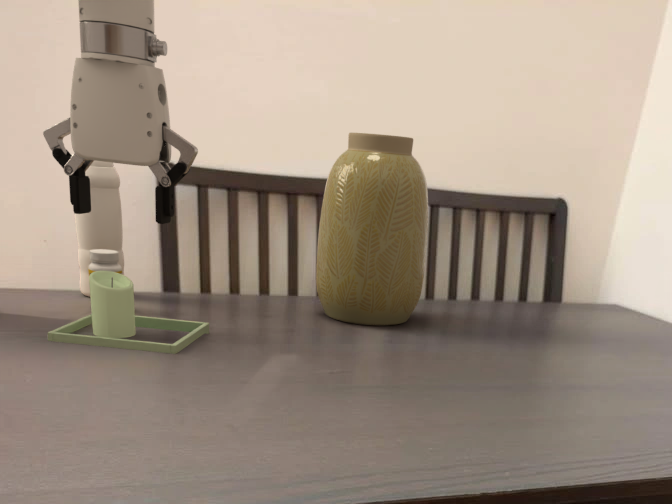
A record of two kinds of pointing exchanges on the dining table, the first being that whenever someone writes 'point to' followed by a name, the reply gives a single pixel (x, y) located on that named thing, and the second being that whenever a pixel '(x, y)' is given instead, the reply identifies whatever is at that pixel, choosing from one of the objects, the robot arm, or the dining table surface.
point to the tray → (140, 321)
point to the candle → (112, 305)
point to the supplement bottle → (104, 261)
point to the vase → (373, 232)
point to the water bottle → (100, 219)
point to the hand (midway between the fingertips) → (122, 217)
